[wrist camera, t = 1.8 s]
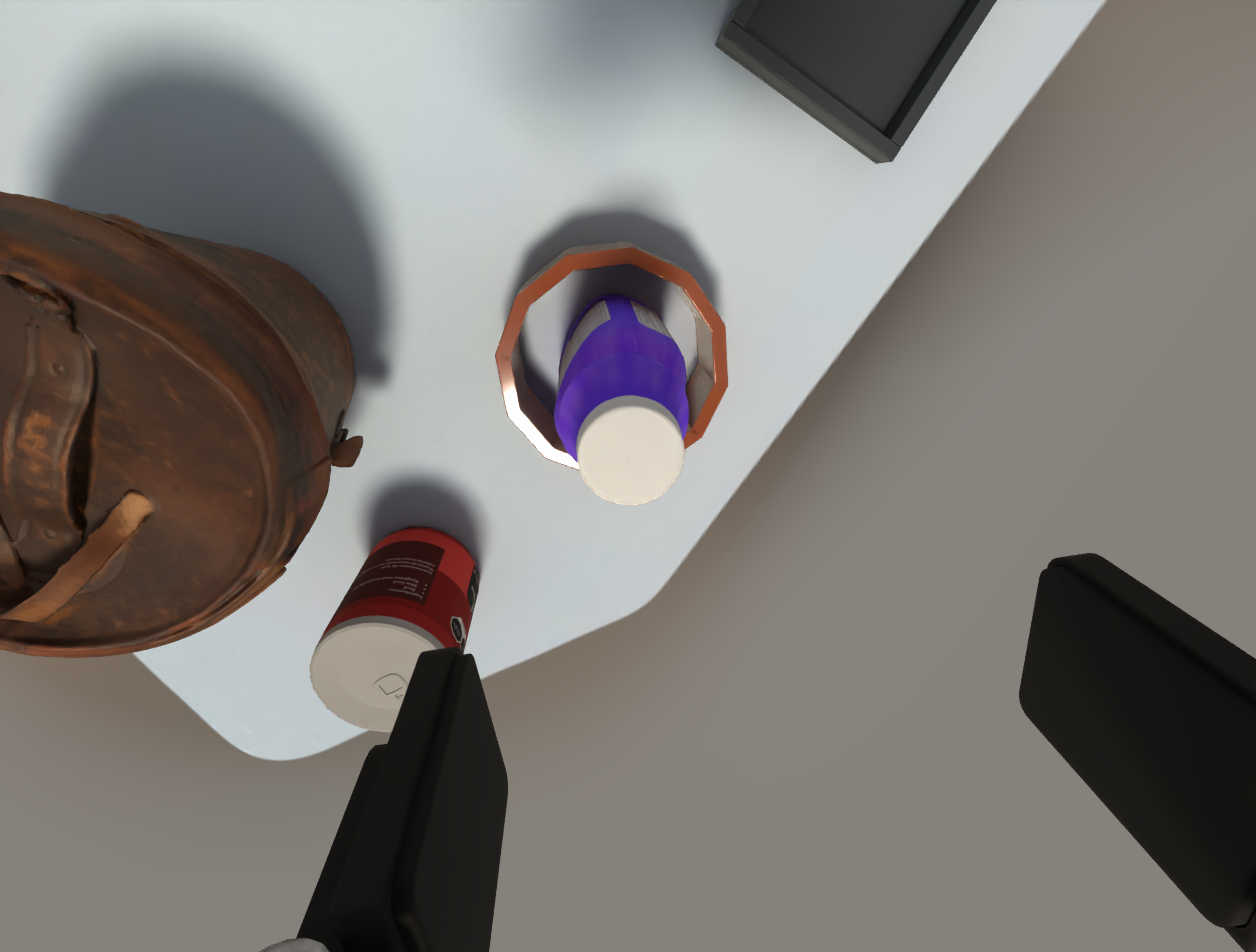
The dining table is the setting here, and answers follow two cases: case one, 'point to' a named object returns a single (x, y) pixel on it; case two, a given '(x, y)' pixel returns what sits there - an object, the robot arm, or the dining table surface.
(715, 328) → the terracotta faceted ring
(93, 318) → the case
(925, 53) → the tray
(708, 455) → the dining table surface
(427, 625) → the canned food
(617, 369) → the bottle
